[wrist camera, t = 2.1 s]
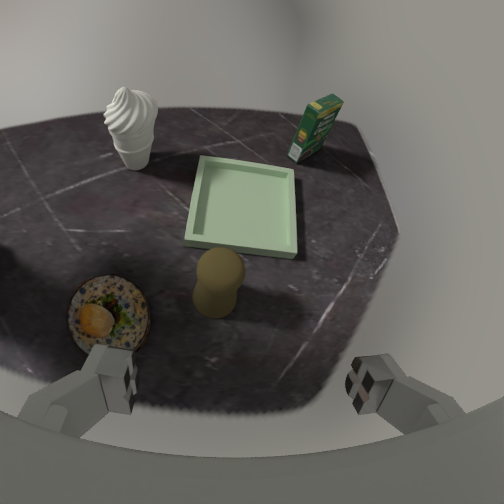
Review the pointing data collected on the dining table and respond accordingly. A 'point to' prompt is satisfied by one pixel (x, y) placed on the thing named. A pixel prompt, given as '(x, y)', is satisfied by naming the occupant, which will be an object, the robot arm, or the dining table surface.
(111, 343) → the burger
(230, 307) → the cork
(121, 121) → the soft serve ice cream cone
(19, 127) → the dining table surface
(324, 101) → the coffee box
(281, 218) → the tray
